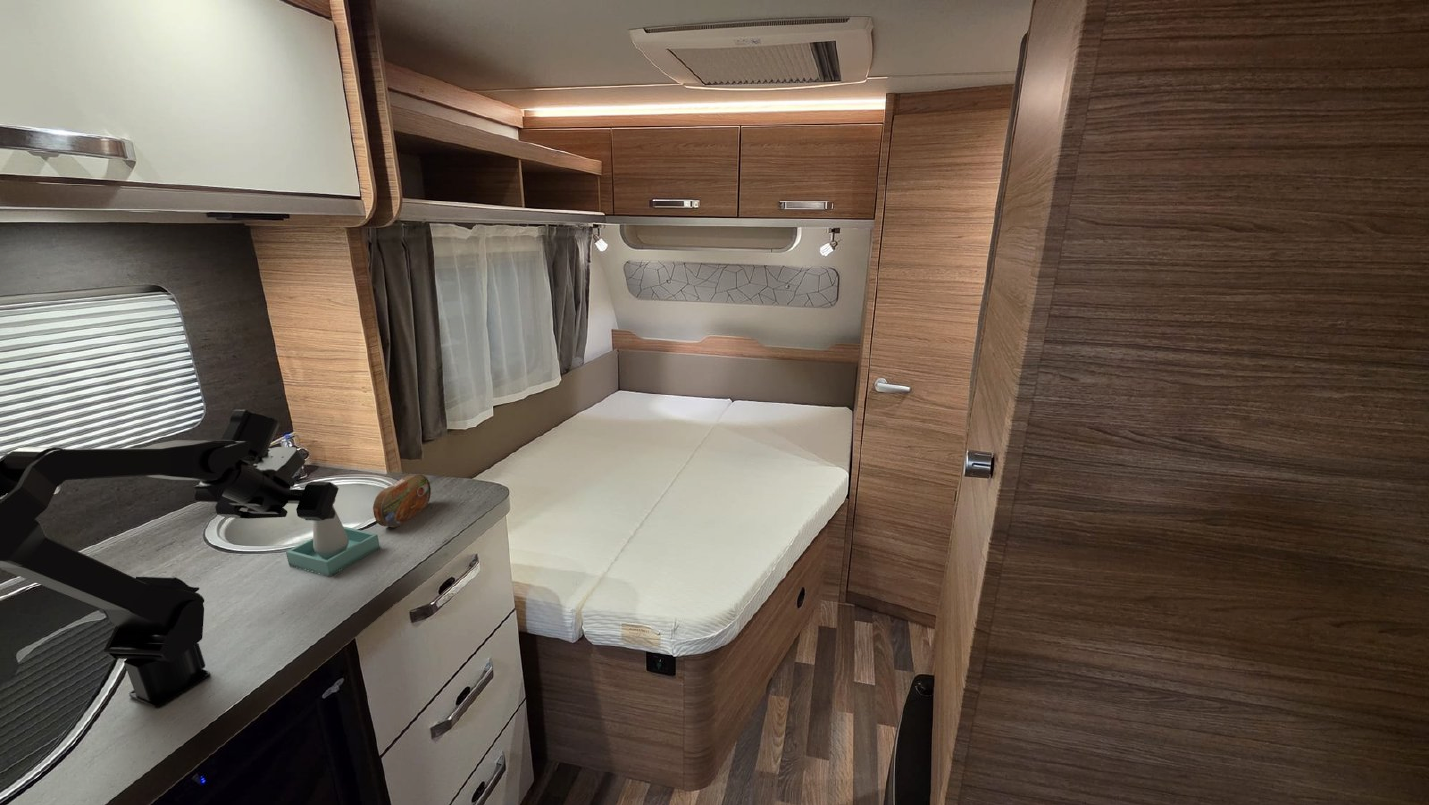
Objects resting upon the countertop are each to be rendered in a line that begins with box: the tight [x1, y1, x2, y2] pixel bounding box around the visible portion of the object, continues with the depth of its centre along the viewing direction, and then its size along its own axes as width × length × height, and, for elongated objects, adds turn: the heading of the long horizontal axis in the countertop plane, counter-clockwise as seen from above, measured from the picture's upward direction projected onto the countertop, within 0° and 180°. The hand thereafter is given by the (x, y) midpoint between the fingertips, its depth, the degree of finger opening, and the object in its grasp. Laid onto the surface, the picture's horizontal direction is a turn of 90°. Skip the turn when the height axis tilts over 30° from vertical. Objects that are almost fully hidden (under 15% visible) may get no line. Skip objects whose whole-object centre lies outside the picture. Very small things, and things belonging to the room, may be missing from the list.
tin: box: [372, 474, 432, 528], centre depth 127 cm, size 15×3×8 cm, turn 168°
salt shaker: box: [312, 499, 349, 560], centre depth 111 cm, size 6×6×13 cm
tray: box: [285, 525, 381, 577], centre depth 113 cm, size 11×11×3 cm
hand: (309, 514), depth 106 cm, fingers open, 9 cm apart
